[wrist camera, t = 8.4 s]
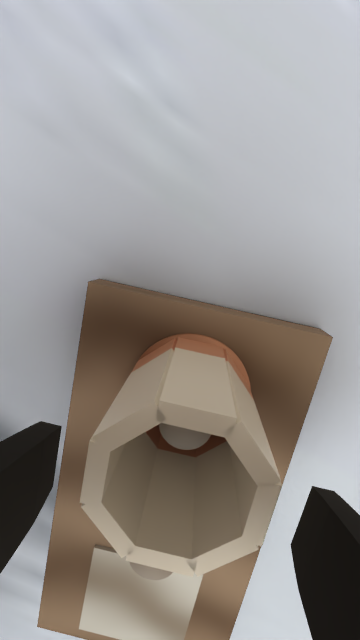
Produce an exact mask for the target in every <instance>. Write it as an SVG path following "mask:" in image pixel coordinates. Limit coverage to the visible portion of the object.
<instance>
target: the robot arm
mask: <svg viewBox="0 0 360 640" xmlns="http://www.w3.org/2000/svg"><path fill="white" fill-rule="evenodd" d="M60 433H61V426H58V425H54V424H50V423H46V422H42V421H41V422H38V423H36V424H34V425H32V426H30V427H28V428H26V429H24V430H22V431H20V432H18V433H16V434H14V435H12V436H11V437H9V438H7V439H5V440H3V441H1V442H0V573H1V572H2V570H3V569H4V567H5V566H6V564H7V563H8V561H9V560H10V558H11V557H12V555H13V554H14V552H15V551H16V549H17V548H18V546H19V545H20V543H21V542H22V540H23V539H24V537H25V536H26V534H27V533H28V531H29V530H30V528H31V527H32V525H33V523H34V522H35V520H36V518H37V516H38V514H39V512H40V510H41V509H42V507H43V505H44V503H45V501H46V499H47V497H48V495H49V493H50V491H51V489H52V487H53V481H54V474H55V468H56V461H57V454H58V447H59V440H60ZM291 549H292V556H293V562H294V568H295V573H296V579H297V584H298V589H299V593H300V597H301V600H302V604H303V607H304V611H305V614H306V618H307V622H308V625H309V629H310V632H311V636H312V639H313V640H360V515H359V514H358V513H357V512H356V511H355V510H354V509H353V508H352V507H351V506H350V505H349V504H347V503H346V502H345V501H344V500H343V499H342V498H341V497H340V496H339V495H338V494H337V493H336V492H334V491H331V490H327V489H322V488H318V487H314V486H312V488H311V491H310V494H309V497H308V499H307V502H306V505H305V507H304V510H303V513H302V516H301V518H300V521H299V524H298V527H297V529H296V532H295V535H294V537H293V540H292V543H291Z"/></svg>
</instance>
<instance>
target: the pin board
mask: <svg viewBox="0 0 360 640" xmlns="http://www.w3.org/2000/svg"><path fill="white" fill-rule="evenodd" d="M178 337H180V338H184V339H189V340H193V341H198V342H202V343H207V344H211V345H216V346H220V347H223V350H224V349H226V351H227V352H228V354H229V355H230V357H231V358H232V360H233V361H234V363H235V365H236V366H237V368H238V369H239V371H240V372H241V374H242V375H243V377H244V378H245V380H246V382H247V383H248V385H249V387H250V390H251V393H252V396H253V399H254V402H255V405H256V408H257V411H258V414H259V417H260V420H261V423H262V426H263V429H264V431H265V434H266V437H267V440H268V443H269V446H270V449H271V452H272V455H273V458H274V461H275V464H276V467H277V470H278V473H279V476H280V479H281V484H283V481H284V478H285V476H286V473H287V470H288V467H289V464H290V461H291V458H292V455H293V452H294V449H295V446H296V443H297V441H298V438H299V435H300V432H301V429H302V426H303V423H304V420H305V417H306V414H307V411H308V408H309V405H310V403H311V400H312V397H313V394H314V391H315V388H316V385H317V382H318V379H319V376H320V373H321V370H322V368H323V365H324V362H325V359H326V356H327V353H328V350H329V347H330V344H331V341H332V338H333V337H332V336H330V335H329V334H327V333H326V332H324V331H323V330H321V329H318V328H314V327H309V326H305V325H300V324H296V323H292V322H287V321H283V320H278V319H274V318H270V317H265V316H261V315H256V314H252V313H247V312H243V311H239V310H234V309H230V308H225V307H221V306H217V305H212V304H208V303H203V302H199V301H195V300H190V299H186V298H181V297H177V296H172V295H168V294H164V293H159V292H155V291H150V290H146V289H142V288H137V287H133V286H128V285H124V284H119V283H115V282H111V281H106V280H102V279H97V280H93V281H89V282H88V287H87V294H86V301H85V308H84V314H83V321H82V328H81V334H80V341H79V348H78V355H77V361H76V368H75V375H74V382H73V388H72V395H71V402H70V409H69V415H68V422H67V429H66V436H65V442H64V449H63V456H62V463H61V469H60V476H59V483H58V490H57V496H56V503H55V510H54V517H53V523H52V530H51V537H50V544H49V550H48V557H47V564H46V571H45V577H44V584H43V591H42V598H41V604H40V611H39V618H38V625H37V627H40V628H44V629H48V630H52V631H55V632H59V633H63V634H67V635H71V636H75V637H79V638H83V639H86V640H229V639H230V636H231V633H232V630H233V627H234V624H235V621H236V618H237V616H238V613H239V610H240V607H241V604H242V601H243V598H244V595H245V592H246V589H247V586H248V583H249V581H250V578H251V575H252V572H253V569H254V566H255V563H256V560H257V557H258V554H259V551H260V548H261V546H258V549H259V550H257V551H255V552H252V553H250V554H248V555H246V556H243V557H241V558H239V559H236V560H234V561H232V562H230V563H227V564H225V565H223V566H221V567H218V568H216V569H214V570H212V571H209V572H207V573H205V574H203V575H200V576H197V575H196V574H195V572H194V575H193V577H191V576H186V575H182V574H178V573H174V572H170V571H166V570H162V569H158V568H154V567H150V566H146V565H141V564H137V563H133V562H129V561H126V556H125V557H123V558H121V557H120V556H119V554H118V553H117V552H116V551H115V549H114V548H113V547H112V546H111V544H110V543H109V542H108V540H107V539H106V538H105V537H104V535H103V534H102V533H101V532H100V530H99V529H98V528H97V527H96V525H95V524H94V523H93V522H92V520H91V519H90V518H89V517H88V515H87V514H86V513H85V512H84V510H83V509H82V508H81V505H82V503H80V497H81V490H82V484H83V478H84V472H85V465H86V459H87V453H88V447H89V441H90V439H91V437H92V436H93V434H94V433H95V431H96V429H97V428H98V426H99V424H100V423H101V421H102V419H103V418H104V416H105V414H106V413H107V411H108V409H109V408H110V406H111V405H112V403H113V401H114V400H115V398H116V396H117V395H118V393H119V391H120V390H121V388H122V386H123V385H124V383H125V381H126V380H127V378H128V377H129V375H130V373H131V372H132V370H133V368H134V367H135V365H136V363H137V362H138V360H140V359H141V358H143V357H145V356H146V355H148V354H150V353H151V352H153V351H154V350H156V349H158V348H159V347H161V346H163V345H164V344H166V343H167V342H169V341H171V340H172V339H174V338H176V340H178ZM159 428H160V432H161V434H162V436H163V438H164V439H165V440H166V441H167V442H168V443H169V444H170V445H172V446H173V447H175V448H178V449H182V450H192V449H196V448H198V447H200V446H202V445H204V444H205V443H206V442H207V441H208V439H209V438H210V436H211V434H208V433H203V432H199V431H195V430H190V429H186V428H182V427H177V426H173V425H169V424H164V423H160V424H159Z"/></svg>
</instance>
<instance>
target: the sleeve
mask: <svg viewBox="0 0 360 640" xmlns="http://www.w3.org/2000/svg"><path fill="white" fill-rule="evenodd" d="M160 423H164V424H169V425H173V426H177V427H182V428H186V429H190V430H195V431H199V432H203V433H208V434H211V436H210V438H209V439H208V441H207V442H206V443H205V444H204V445H202V446H200V447H198V448H196V449H192V450H182V449H178V448H175V447H173V446H172V445H170V444H169V443H168V442H167V441H166V440H165V439H164V438H163V436H162V434H161V432H160V428H159V424H160ZM281 487H282V484H281V479H280V476H279V473H278V470H277V467H276V464H275V461H274V458H273V455H272V452H271V449H270V446H269V443H268V440H267V437H266V434H265V431H264V429H263V426H262V423H261V420H260V417H259V414H258V411H257V408H256V405H255V402H254V399H253V396H252V393H251V390H250V387H249V385H248V383H247V382H246V380H245V378H244V377H243V375H242V374H241V372H240V371H239V369H238V368H237V366H236V365H235V363H234V361H233V360H232V358H231V357H230V355H229V354H228V352H227V351H226V349H224V350H223V347H220V346H216V345H211V344H207V343H202V342H198V341H193V340H189V339H184V338H180V337H178V340H176V338H174V339H172V340H171V341H169V342H167V343H166V344H164V345H163V346H161V347H159V348H158V349H156V350H154V351H153V352H151V353H150V354H148V355H146V356H145V357H143V358H141V359H140V360H138V362H137V363H136V365H135V367H134V368H133V370H132V372H131V373H130V375H129V377H128V378H127V380H126V381H125V383H124V385H123V386H122V388H121V390H120V391H119V393H118V395H117V396H116V398H115V400H114V401H113V403H112V405H111V406H110V408H109V409H108V411H107V413H106V414H105V416H104V418H103V419H102V421H101V423H100V424H99V426H98V428H97V429H96V431H95V433H94V434H93V436H92V437H91V439H90V441H89V447H88V453H87V459H86V465H85V472H84V478H83V484H82V490H81V497H80V503H82V505H81V508H82V509H83V510H84V512H85V513H86V514H87V515H88V517H89V518H90V519H91V520H92V522H93V523H94V524H95V525H96V527H97V528H98V529H99V530H100V532H101V533H102V534H103V535H104V537H105V538H106V539H107V540H108V542H109V543H110V544H111V546H112V547H113V548H114V549H115V551H116V552H117V553H118V554H119V556H120V557H121V558H123V557H125V556H126V561H129V562H133V563H137V564H141V565H146V566H150V567H154V568H158V569H162V570H166V571H170V572H174V573H178V574H182V575H186V576H191V577H193V575H194V572H195V574H196V575H197V576H200V575H203V574H205V573H207V572H209V571H212V570H214V569H216V568H218V567H221V566H223V565H225V564H227V563H230V562H232V561H234V560H236V559H239V558H241V557H243V556H246V555H248V554H250V553H252V552H255V551H257V550H259V549H258V546H262V545H263V542H264V539H265V536H266V533H267V530H268V527H269V524H270V521H271V518H272V515H273V512H274V509H275V506H276V503H277V500H278V497H279V494H280V491H281Z"/></svg>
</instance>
